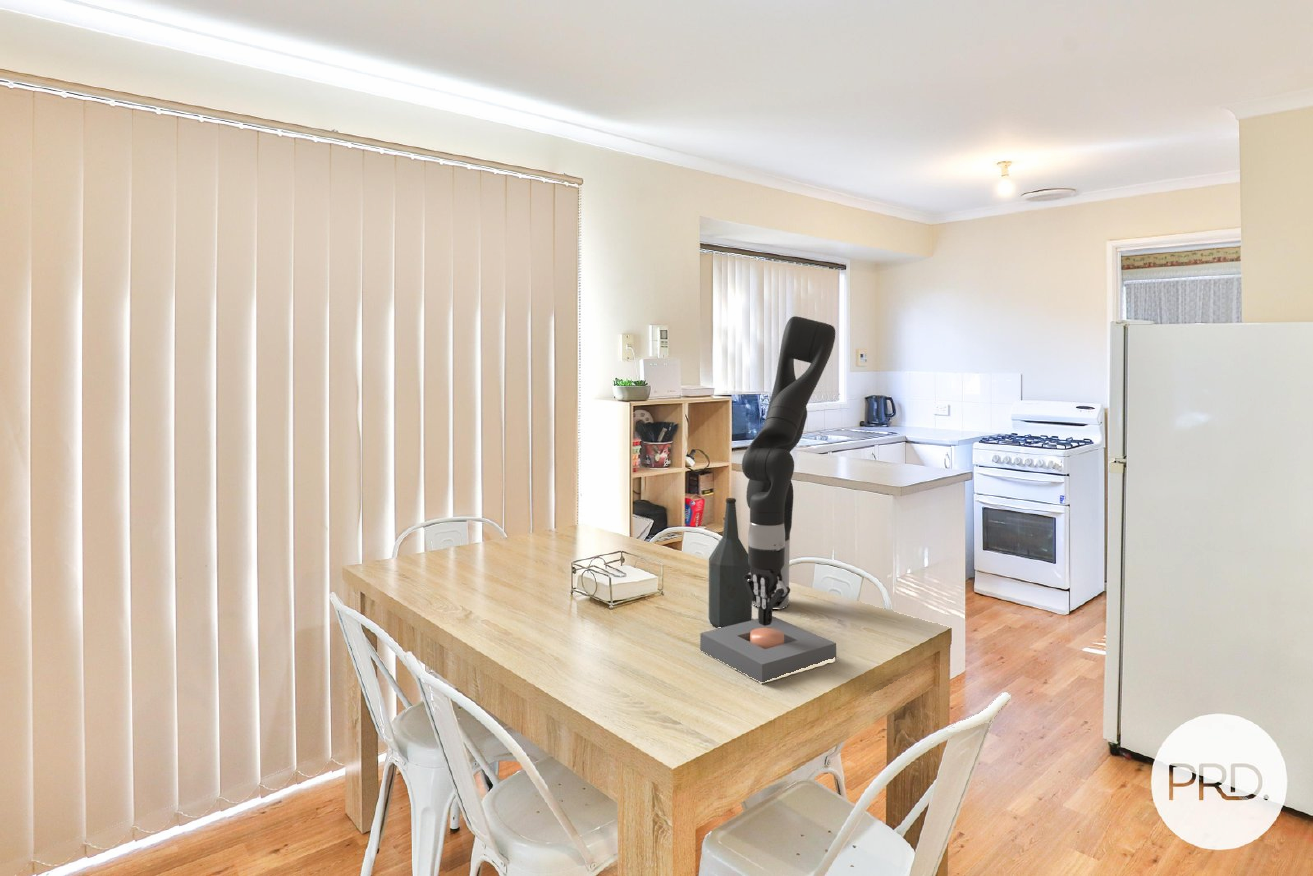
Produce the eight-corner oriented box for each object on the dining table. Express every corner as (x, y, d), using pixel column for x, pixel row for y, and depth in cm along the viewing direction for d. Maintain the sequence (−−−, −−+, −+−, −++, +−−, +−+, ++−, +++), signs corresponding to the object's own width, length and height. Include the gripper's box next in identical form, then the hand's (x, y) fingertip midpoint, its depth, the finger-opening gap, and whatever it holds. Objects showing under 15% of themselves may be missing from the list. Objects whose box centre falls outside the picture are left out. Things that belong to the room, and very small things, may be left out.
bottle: (754, 618, 182) (756, 495, 179) (748, 632, 173) (749, 503, 170) (712, 614, 185) (713, 493, 182) (704, 628, 176) (704, 501, 172)
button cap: (743, 650, 160) (743, 632, 159) (768, 643, 164) (768, 625, 163) (765, 661, 154) (765, 642, 154) (790, 654, 158) (791, 635, 157)
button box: (700, 651, 162) (700, 633, 161) (771, 632, 173) (771, 615, 172) (761, 684, 145) (762, 664, 145) (835, 661, 156) (836, 643, 156)
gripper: (732, 539, 160) (731, 618, 162) (773, 553, 149) (772, 638, 151) (759, 534, 164) (758, 611, 166) (802, 548, 153) (800, 630, 155)
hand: (765, 624), depth 158 cm, fingers closed
